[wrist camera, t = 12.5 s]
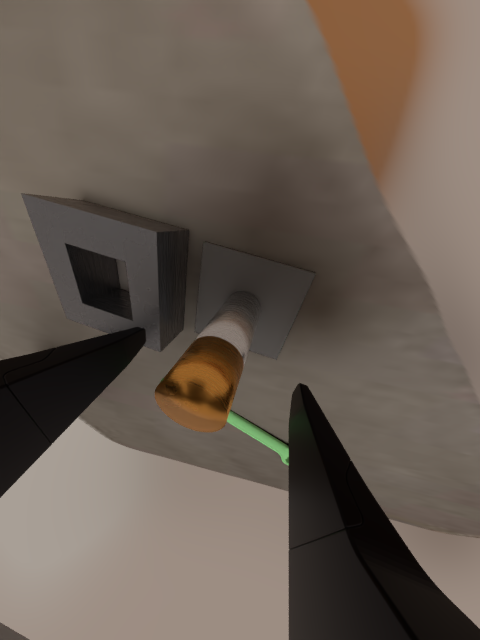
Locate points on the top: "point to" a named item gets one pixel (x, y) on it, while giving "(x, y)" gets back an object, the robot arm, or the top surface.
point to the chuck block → (113, 266)
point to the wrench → (259, 435)
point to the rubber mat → (259, 279)
